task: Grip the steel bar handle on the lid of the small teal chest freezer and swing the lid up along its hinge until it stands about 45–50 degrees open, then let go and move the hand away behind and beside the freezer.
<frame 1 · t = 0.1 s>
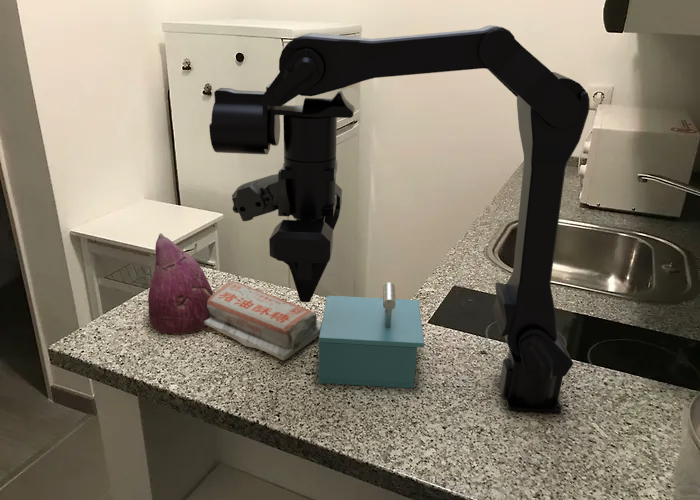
hand: (309, 283, 70), 15 cm above the counter, tool pointing down, fingers open, 9 cm apart
vegetable: (184, 318, 90), on the counter, touching packaged product
packaged product: (258, 328, 88), on the counter, touching vegetable
freezer lid: (372, 306, 78), point 9 cm above the counter, hinge at 0.0°
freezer: (367, 360, 81), on the counter
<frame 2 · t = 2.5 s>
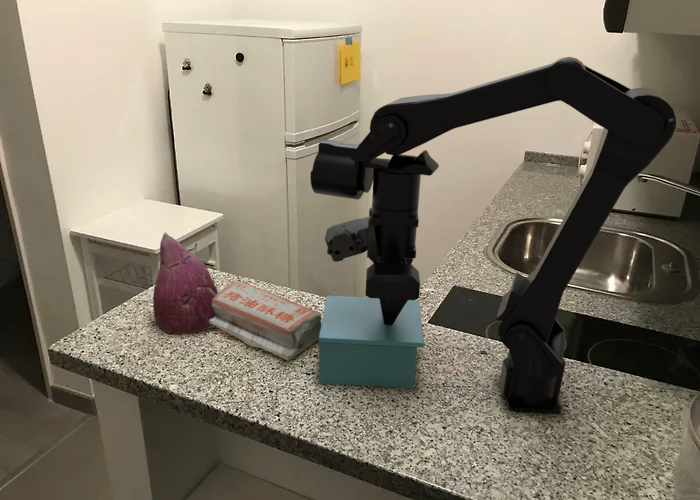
hand: (388, 314, 78), 8 cm above the counter, tool pointing down, fingers closed on freezer lid, 5 cm apart
packaged product: (263, 328, 88), on the counter, touching vegetable
freezer lid: (372, 306, 78), point 9 cm above the counter, hinge at 0.0°, touching gripper
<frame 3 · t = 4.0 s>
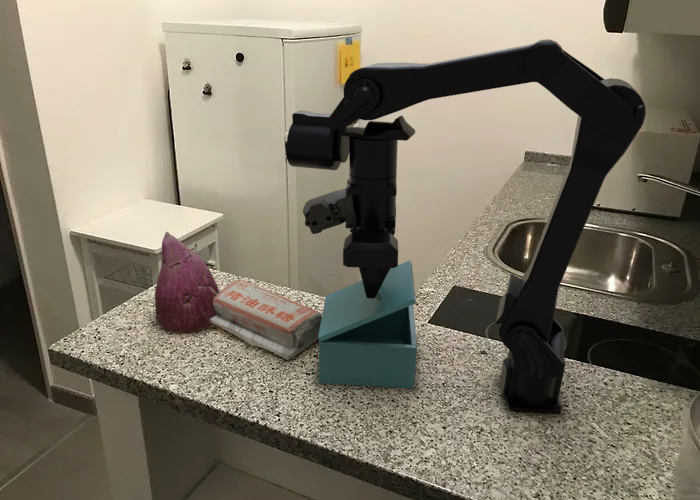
hand: (371, 288, 77), 11 cm above the counter, tool pointing down, fingers closed on freezer lid, 5 cm apart
packaged product: (263, 327, 88), on the counter, touching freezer, vegetable
freezer lid: (360, 286, 77), point 12 cm above the counter, hinge at 28.2°, touching gripper
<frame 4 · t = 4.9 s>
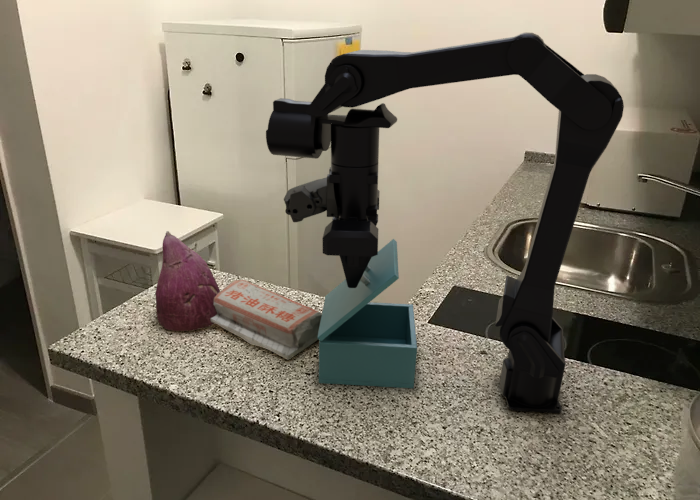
hand: (353, 278, 76), 13 cm above the counter, tool pointing down, fingers closed on freezer lid, 5 cm apart
packaged product: (264, 327, 88), on the counter, touching vegetable
freezer lid: (347, 277, 76), point 13 cm above the counter, hinge at 45.4°, touching gripper
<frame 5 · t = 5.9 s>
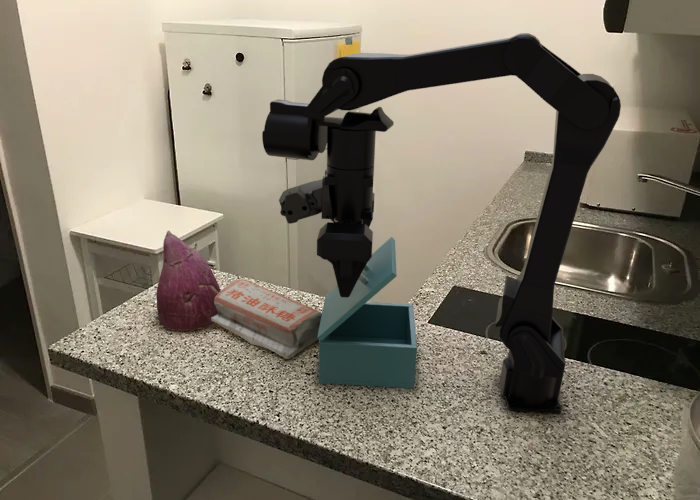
hand: (346, 280, 76), 12 cm above the counter, tool pointing down, fingers open, 9 cm apart
packaged product: (264, 326, 88), on the counter, touching vegetable
freezer lid: (346, 276, 76), point 13 cm above the counter, hinge at 47.1°
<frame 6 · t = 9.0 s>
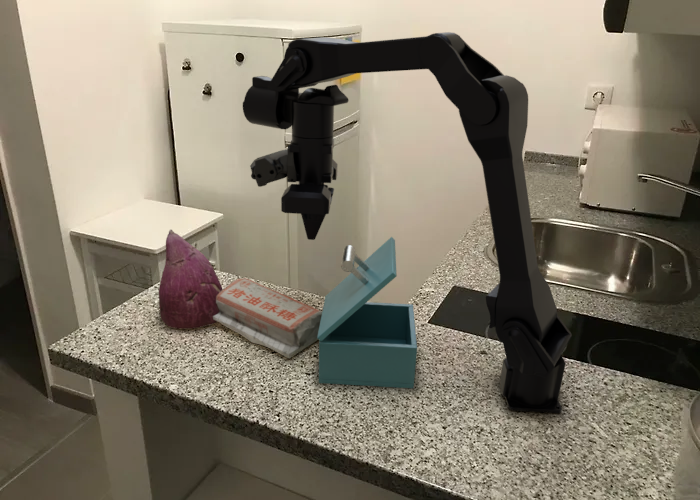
hand: (311, 238, 87), 13 cm above the counter, tool pointing down, fingers closed
vegetable: (194, 314, 91), on the counter, touching packaged product
packaged product: (266, 325, 89), on the counter, touching vegetable
everything else where it was.
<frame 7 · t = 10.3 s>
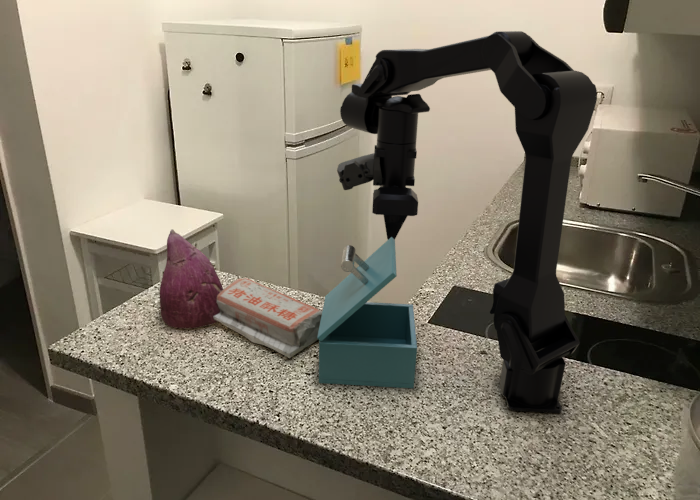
hand: (390, 239, 91), 12 cm above the counter, tool pointing down, fingers closed
vegetable: (195, 313, 92), on the counter, touching packaged product
packaged product: (266, 325, 89), on the counter, touching vegetable
everything else where it was.
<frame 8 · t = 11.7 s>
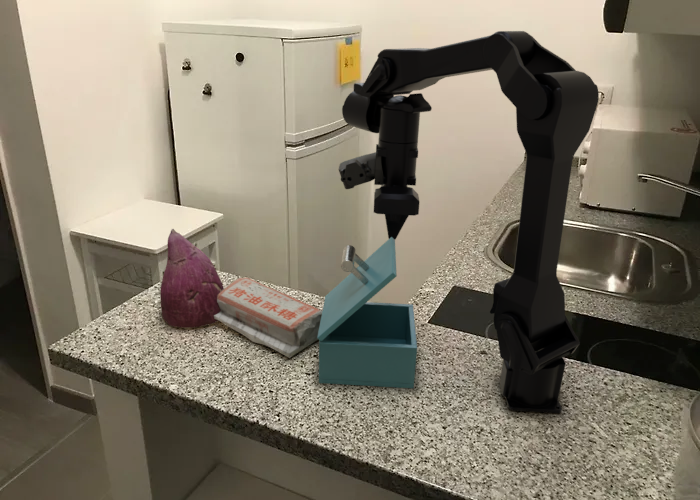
hand: (392, 238, 91), 12 cm above the counter, tool pointing down, fingers closed
packaged product: (267, 324, 89), on the counter, touching vegetable
everything else where it was.
at the end: freezer lid at +47° (first picture: +0°); packaged product moved 1.8 cm from its start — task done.
